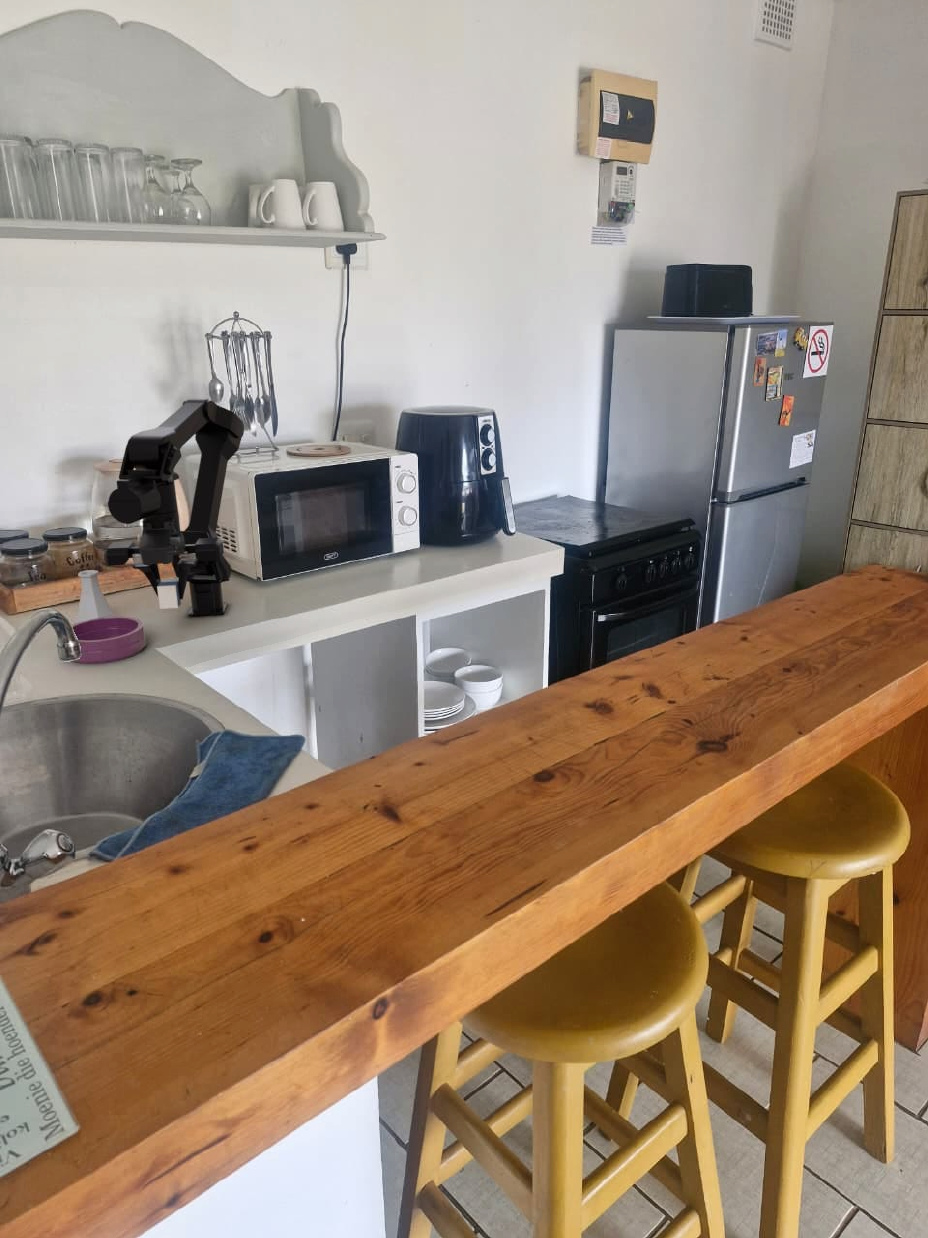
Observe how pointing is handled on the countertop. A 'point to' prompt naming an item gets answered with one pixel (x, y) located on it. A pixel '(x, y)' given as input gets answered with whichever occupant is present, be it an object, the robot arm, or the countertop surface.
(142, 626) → the bowl
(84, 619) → the flask
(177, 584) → the eraser
